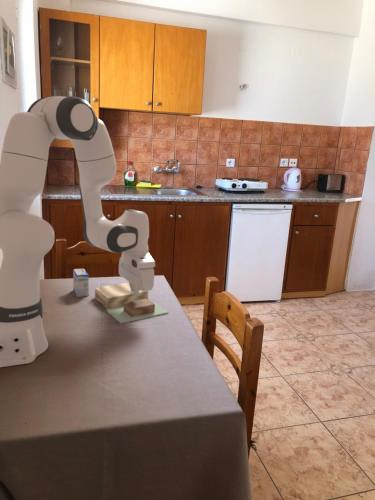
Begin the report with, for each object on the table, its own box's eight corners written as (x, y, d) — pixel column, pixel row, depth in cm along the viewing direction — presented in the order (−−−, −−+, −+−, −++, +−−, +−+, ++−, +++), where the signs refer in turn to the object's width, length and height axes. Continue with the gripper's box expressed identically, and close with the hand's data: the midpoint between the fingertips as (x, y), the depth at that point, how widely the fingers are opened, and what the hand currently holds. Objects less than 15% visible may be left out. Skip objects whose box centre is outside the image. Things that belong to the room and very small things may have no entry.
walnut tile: (123, 302, 142) (123, 310, 143) (131, 308, 137) (131, 317, 138) (146, 298, 147) (146, 306, 148) (154, 304, 142) (154, 312, 143)
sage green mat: (120, 323, 134) (120, 322, 134) (106, 310, 144) (106, 309, 144) (168, 313, 144) (168, 312, 144) (151, 301, 153) (151, 300, 153)
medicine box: (73, 290, 161) (72, 269, 159) (84, 289, 163) (84, 268, 161) (77, 297, 154) (76, 275, 152) (89, 296, 156) (88, 274, 154)
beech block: (107, 308, 145) (107, 298, 144) (95, 297, 155) (95, 287, 154) (148, 301, 154) (148, 291, 153) (133, 291, 163) (133, 281, 162)
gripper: (114, 250, 147) (114, 287, 151) (140, 265, 131) (139, 306, 134) (130, 248, 151) (130, 284, 154) (157, 263, 134) (156, 303, 138)
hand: (134, 295), depth 144 cm, fingers closed
